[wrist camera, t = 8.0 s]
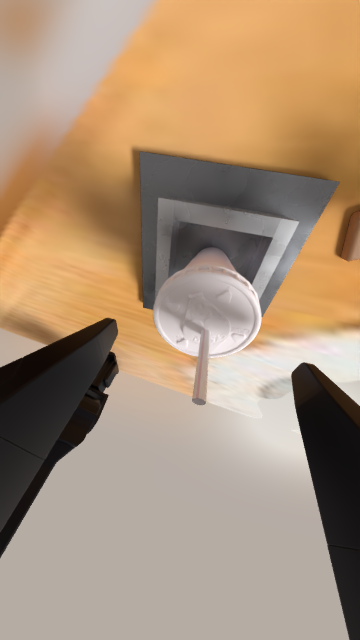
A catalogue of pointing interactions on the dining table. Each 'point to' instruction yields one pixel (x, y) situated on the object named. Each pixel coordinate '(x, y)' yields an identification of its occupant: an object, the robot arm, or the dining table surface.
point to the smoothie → (207, 312)
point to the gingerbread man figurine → (352, 239)
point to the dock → (224, 219)
